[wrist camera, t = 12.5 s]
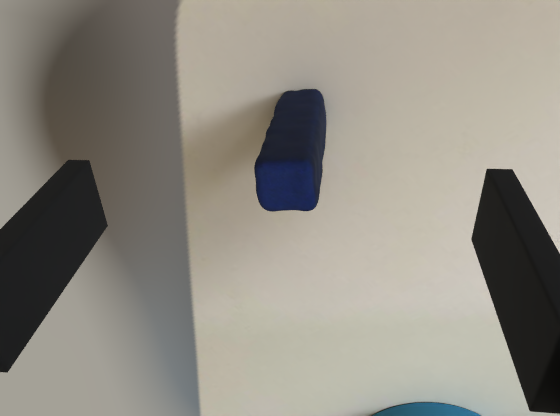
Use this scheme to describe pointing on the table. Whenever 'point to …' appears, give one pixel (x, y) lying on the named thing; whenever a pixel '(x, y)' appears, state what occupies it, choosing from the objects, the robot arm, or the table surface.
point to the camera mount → (426, 410)
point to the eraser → (292, 153)
